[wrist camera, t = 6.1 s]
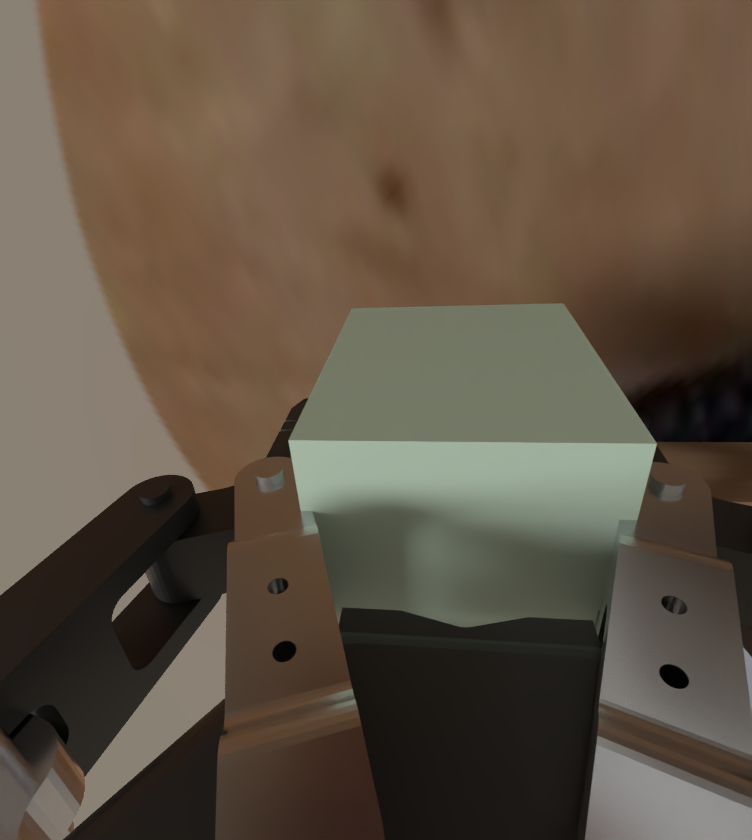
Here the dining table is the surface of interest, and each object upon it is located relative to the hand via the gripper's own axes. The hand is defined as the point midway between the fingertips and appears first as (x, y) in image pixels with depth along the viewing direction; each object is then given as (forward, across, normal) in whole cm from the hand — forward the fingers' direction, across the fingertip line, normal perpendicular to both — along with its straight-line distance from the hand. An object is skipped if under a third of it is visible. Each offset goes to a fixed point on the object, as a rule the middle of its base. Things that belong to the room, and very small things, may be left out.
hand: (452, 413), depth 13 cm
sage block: (+1, 0, 0) cm, 1 cm away
